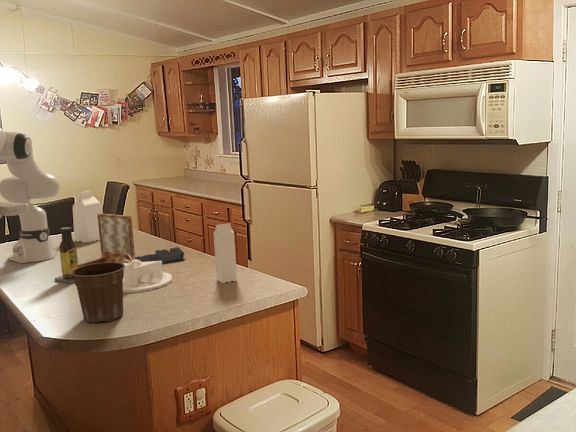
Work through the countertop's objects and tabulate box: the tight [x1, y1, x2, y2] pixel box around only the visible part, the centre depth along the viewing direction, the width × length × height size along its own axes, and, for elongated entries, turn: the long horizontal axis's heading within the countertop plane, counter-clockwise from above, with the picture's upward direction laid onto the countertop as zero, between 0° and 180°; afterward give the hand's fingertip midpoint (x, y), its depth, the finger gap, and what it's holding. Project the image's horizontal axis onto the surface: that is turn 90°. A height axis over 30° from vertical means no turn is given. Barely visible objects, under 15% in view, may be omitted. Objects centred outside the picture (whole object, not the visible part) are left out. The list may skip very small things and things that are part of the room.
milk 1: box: [72, 190, 104, 243], centre depth 299 cm, size 12×12×26 cm
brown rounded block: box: [115, 256, 126, 264], centre depth 239 cm, size 4×4×5 cm
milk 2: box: [213, 222, 238, 284], centre depth 213 cm, size 6×6×22 cm
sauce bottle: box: [59, 226, 79, 278], centre depth 223 cm, size 7×6×20 cm
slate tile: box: [54, 275, 75, 285], centre depth 226 cm, size 10×10×1 cm
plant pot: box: [71, 262, 125, 324], centre depth 179 cm, size 16×16×16 cm
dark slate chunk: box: [135, 246, 186, 266], centre depth 250 cm, size 15×22×5 cm
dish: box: [123, 254, 173, 294], centre depth 217 cm, size 25×25×11 cm
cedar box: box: [78, 213, 136, 267], centre depth 237 cm, size 20×18×22 cm
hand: (24, 204), depth 213 cm, fingers open, 8 cm apart
